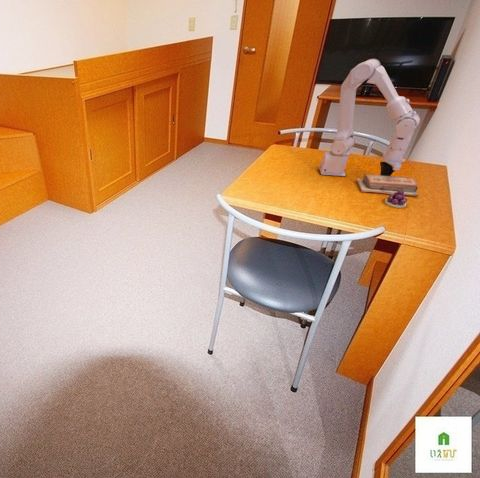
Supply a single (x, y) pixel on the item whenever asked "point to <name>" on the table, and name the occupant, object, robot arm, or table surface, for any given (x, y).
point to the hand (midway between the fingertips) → (382, 180)
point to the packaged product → (388, 184)
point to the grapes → (397, 199)
